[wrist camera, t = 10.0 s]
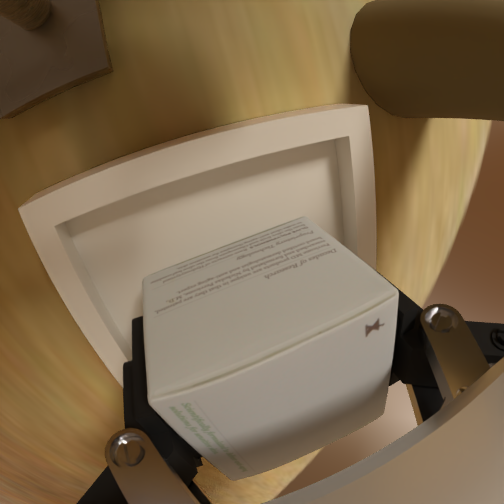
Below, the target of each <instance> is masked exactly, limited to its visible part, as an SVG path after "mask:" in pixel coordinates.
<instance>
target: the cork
mask: <svg viewBox="0 0 504 504" xmlns="http://www.w3.org/2000/svg"><path fill="white" fill-rule="evenodd" d="M350 50H351V54H352V58H353V62H354V66H355V71H356V73H357V75H358V77H359V79H360V81H361V83H362V85H363V87H364V89H365V91H366V92H367V93H368V94H369V95H370V96H371V98H372V99H373V100H374V101H375V102H376V104H377V105H378V106H380V107H381V108H383V109H384V110H386V111H387V112H389V113H390V114H392V115H395V116H399V117H404V118H464V119H483V120H497V121H498V120H499V121H504V0H375V1H372V2H369V3H367V4H366V5H365V6H364V7H363V8H362V9H361V10H360V11H359V12H358V13H357V14H356V17H355V20H354V22H353V25H352V28H351V48H350Z"/></svg>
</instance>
